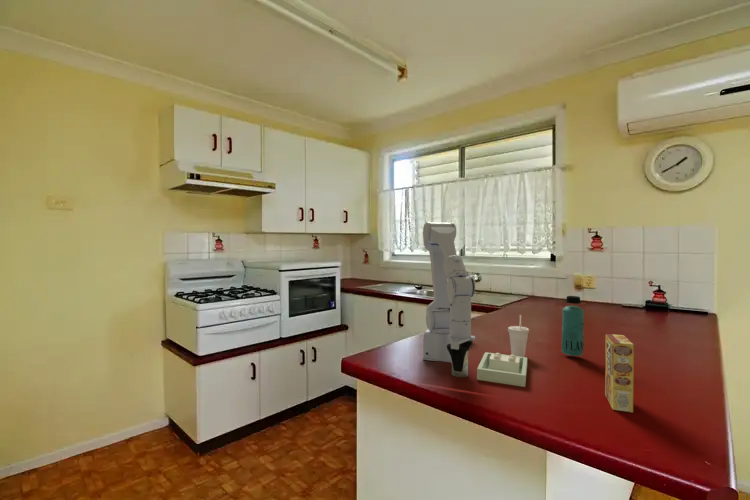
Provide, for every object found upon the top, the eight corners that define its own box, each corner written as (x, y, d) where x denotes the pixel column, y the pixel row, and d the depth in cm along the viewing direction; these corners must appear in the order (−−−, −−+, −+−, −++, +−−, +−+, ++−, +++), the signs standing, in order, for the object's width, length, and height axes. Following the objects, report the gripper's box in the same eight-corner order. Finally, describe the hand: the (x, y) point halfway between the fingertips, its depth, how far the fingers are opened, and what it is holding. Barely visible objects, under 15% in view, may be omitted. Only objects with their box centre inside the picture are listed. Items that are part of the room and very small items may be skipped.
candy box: (634, 413, 81) (635, 344, 81) (611, 410, 83) (613, 342, 82) (623, 397, 89) (625, 334, 89) (603, 395, 91) (604, 333, 91)
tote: (476, 381, 99) (477, 368, 99) (485, 363, 114) (485, 352, 114) (525, 389, 94) (525, 375, 94) (527, 369, 109) (527, 357, 109)
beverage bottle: (561, 359, 118) (562, 296, 118) (560, 353, 124) (561, 294, 124) (585, 361, 116) (586, 298, 115) (582, 355, 122) (583, 295, 121)
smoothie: (530, 361, 115) (531, 317, 115) (509, 360, 117) (509, 316, 116) (526, 355, 122) (527, 313, 121) (506, 354, 123) (506, 312, 123)
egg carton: (489, 369, 107) (489, 355, 107) (491, 363, 111) (491, 350, 111) (518, 373, 104) (518, 359, 104) (519, 367, 108) (519, 354, 108)
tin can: (450, 376, 102) (450, 351, 102) (453, 371, 106) (453, 347, 106) (466, 379, 100) (466, 353, 100) (469, 373, 104) (469, 349, 104)
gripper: (470, 326, 94) (469, 379, 95) (479, 316, 107) (478, 362, 108) (443, 324, 97) (442, 375, 97) (454, 313, 110) (454, 358, 111)
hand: (459, 368), depth 103 cm, fingers closed on tin can, 4 cm apart
